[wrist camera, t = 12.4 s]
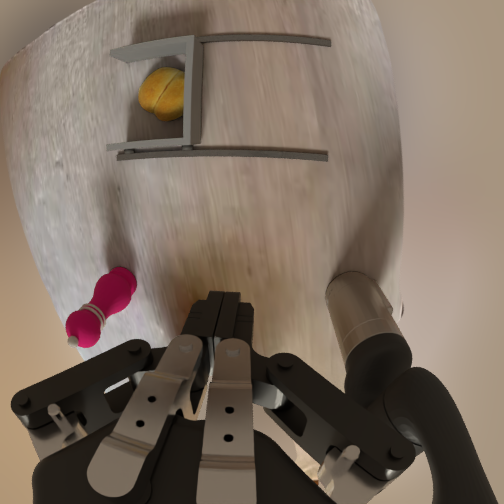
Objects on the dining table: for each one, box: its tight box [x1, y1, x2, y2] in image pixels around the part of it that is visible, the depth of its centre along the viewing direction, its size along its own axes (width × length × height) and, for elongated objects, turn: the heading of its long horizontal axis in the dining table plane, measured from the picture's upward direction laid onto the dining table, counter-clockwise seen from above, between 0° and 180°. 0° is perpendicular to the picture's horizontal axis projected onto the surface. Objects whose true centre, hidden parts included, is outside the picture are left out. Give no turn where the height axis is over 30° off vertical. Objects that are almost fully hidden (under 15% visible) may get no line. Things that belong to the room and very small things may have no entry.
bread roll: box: [138, 67, 185, 121], centre depth 36 cm, size 8×9×4 cm
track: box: [117, 35, 331, 162], centre depth 38 cm, size 34×20×1 cm, turn 89°
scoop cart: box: [106, 35, 204, 154], centre depth 35 cm, size 13×18×6 cm
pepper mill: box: [66, 267, 137, 348], centre depth 42 cm, size 7×7×20 cm
